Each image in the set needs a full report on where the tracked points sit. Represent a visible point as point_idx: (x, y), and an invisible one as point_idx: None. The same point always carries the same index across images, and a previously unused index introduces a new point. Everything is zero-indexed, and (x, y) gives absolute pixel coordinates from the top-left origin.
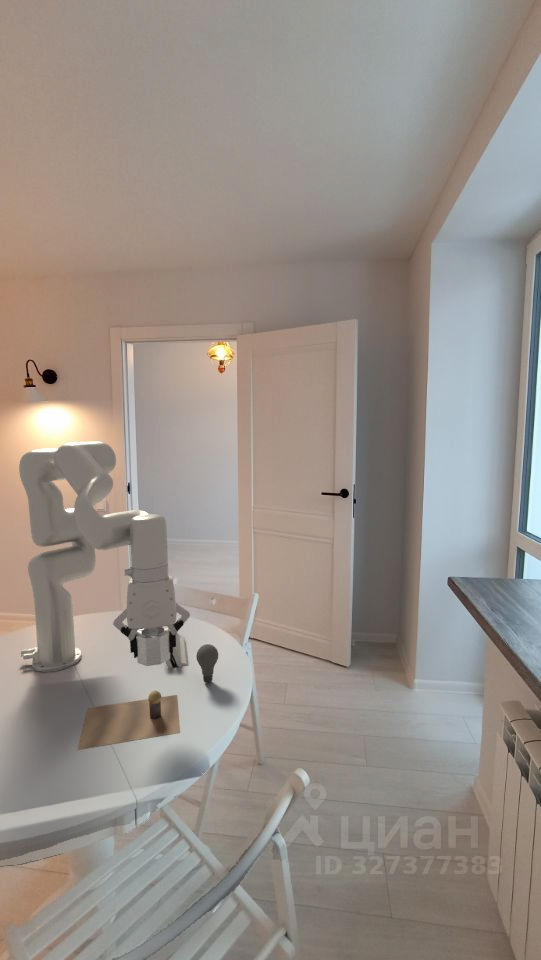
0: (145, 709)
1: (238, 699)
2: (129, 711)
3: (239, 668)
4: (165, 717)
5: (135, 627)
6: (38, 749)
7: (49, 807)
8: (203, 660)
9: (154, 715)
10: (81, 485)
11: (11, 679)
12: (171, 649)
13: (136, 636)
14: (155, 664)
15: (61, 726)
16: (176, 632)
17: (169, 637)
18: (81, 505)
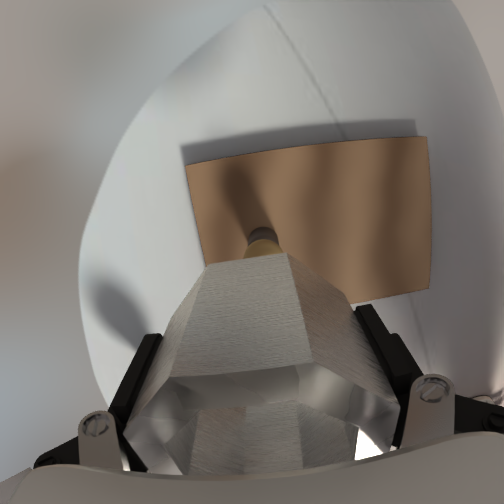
0: None
1: (85, 300)
2: (335, 266)
3: (111, 397)
4: (234, 232)
5: (453, 452)
6: (485, 178)
7: (418, 18)
8: None
9: (263, 230)
10: None
11: None
12: (148, 344)
13: (397, 401)
14: (238, 261)
15: (463, 245)
16: (84, 421)
17: (135, 401)
18: None
